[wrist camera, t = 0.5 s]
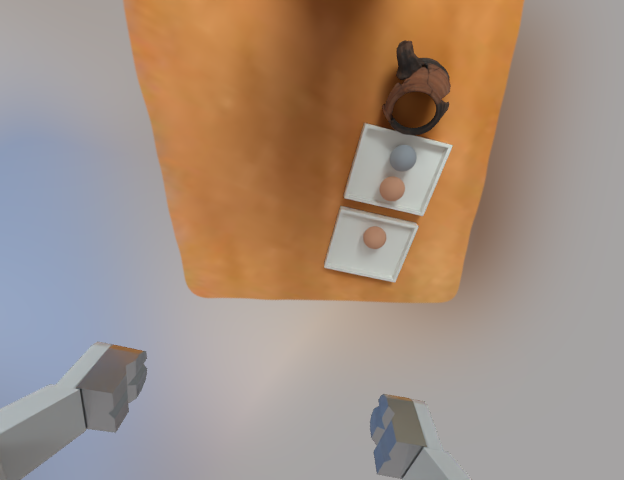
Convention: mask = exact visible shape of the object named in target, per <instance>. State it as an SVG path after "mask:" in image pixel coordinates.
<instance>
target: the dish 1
mask: <svg viewBox="0 0 624 480" xmlns="http://www.w3.org/2000/svg"><path fill="white" fill-rule="evenodd" d="M400 145H408V146H410V147H412V148H413V149H414V150H415V152H416V156H417V159H416V163H415V164H414V166H413V167H412V168H411V169H409V170H408V171H404V172H401V171H397V170H395V169H394V168H393V167H392V166H391V164H390V155H391V152H392V151H393V150H394V149H395V148H396V147H398V146H400ZM452 146H453V145H450V144H447V143H443V142H439V141H435V140H431V139H427V138H423V137H419V136H415V135H405V134H402V133H399V132H398V131H395V130H391V129H387V128H383V127H379V126H375V125H371V124H367V123H364V125H363V128H362V132H361V135H360V139H359V142H358V146H357V149H356V153H355V156H354V160H353V163H352V167H351V170H350V174H349V177H348V181H347V184H346V188H345V191H344V198H346V199H350V200H355V201H359V202H363V203H368V204H372V205H377V206H381V207H385V208H390V209H394V210H398V211H403V212H407V213H412V214H416V215H420V216H423V215H424V213H425V210H426V208H427V205H428V203H429V201H430V198H431V196H432V194H433V191H434V189H435V186H436V184H437V182H438V179H439V177H440V175H441V172H442V170H443V167H444V165H445V163H446V160H447V158H448V156H449V153H450V151H451V148H452ZM391 176H394V177H398V178H400V179H401V180H402V181H403V183H404V185H405V192H404V194H403V196H402V197H401V198H400V199H398V200H396V201H387V200H385V199H384V198H383V197H382V196H381V194H380V191H379V189H380V184H381V183H382V181H383V180H384V179H386V178H387V177H391Z"/></svg>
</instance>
